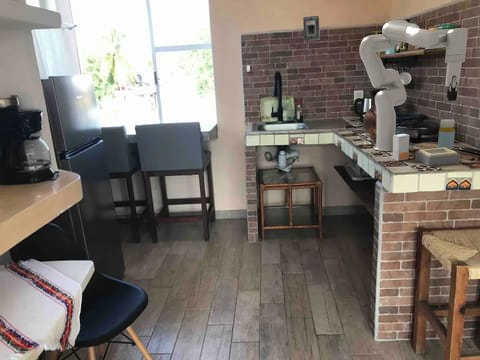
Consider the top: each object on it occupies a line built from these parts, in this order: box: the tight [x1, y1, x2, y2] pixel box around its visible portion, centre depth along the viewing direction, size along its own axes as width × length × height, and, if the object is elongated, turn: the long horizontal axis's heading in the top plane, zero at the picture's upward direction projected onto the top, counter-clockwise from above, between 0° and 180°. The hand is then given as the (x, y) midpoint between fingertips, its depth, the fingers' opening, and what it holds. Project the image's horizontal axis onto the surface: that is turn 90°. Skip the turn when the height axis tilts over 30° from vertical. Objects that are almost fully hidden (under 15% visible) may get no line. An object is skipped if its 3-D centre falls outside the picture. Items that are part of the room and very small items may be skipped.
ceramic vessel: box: [362, 88, 385, 139], centre depth 227 cm, size 21×18×30 cm
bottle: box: [437, 118, 456, 151], centre depth 189 cm, size 7×7×15 cm
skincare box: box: [392, 133, 410, 162], centre depth 180 cm, size 6×4×12 cm
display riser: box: [415, 147, 461, 167], centre depth 173 cm, size 12×14×5 cm
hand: (451, 99), depth 168 cm, fingers open, 9 cm apart
